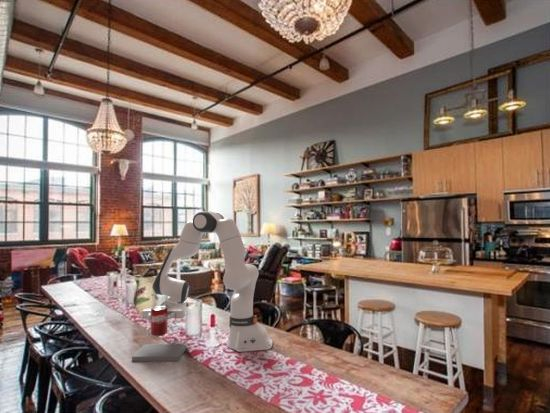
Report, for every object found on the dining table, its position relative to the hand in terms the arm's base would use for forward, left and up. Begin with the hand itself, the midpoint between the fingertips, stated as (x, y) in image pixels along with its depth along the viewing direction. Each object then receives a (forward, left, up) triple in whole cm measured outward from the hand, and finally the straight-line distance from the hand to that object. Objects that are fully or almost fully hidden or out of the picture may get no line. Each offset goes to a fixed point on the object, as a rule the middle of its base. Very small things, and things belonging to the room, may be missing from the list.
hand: (158, 317), depth 149 cm
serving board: (-1, 0, -17) cm, 17 cm away
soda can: (0, -1, -8) cm, 8 cm away
